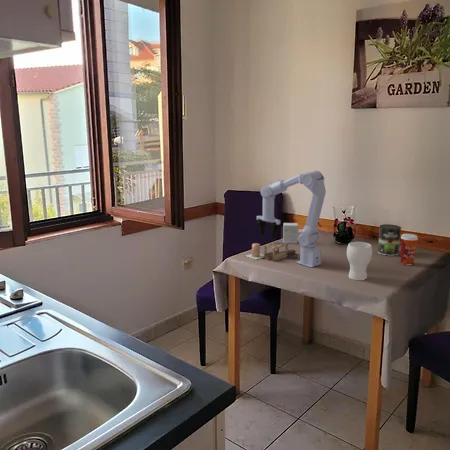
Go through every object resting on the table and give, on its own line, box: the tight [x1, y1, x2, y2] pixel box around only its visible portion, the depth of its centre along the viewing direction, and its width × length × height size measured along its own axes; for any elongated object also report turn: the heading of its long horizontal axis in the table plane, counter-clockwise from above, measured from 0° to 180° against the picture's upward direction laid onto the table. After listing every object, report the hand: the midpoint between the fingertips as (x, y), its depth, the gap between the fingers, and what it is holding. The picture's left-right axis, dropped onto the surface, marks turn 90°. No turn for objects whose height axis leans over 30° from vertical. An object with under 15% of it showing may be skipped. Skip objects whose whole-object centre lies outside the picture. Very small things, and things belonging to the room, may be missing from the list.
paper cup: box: [400, 233, 419, 265], centre depth 216 cm, size 8×8×14 cm
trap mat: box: [286, 255, 299, 260], centre depth 228 cm, size 4×4×1 cm
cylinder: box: [251, 242, 261, 257], centre depth 229 cm, size 4×4×6 cm
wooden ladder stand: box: [263, 241, 289, 262], centre depth 227 cm, size 6×10×7 cm, turn 131°
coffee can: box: [377, 223, 402, 257], centre depth 233 cm, size 10×10×14 cm
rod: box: [264, 249, 296, 261], centre depth 229 cm, size 2×18×2 cm, turn 123°
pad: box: [244, 253, 265, 261], centre depth 230 cm, size 8×8×1 cm
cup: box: [346, 241, 373, 281], centre depth 198 cm, size 11×11×15 cm
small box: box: [282, 222, 299, 245], centre depth 254 cm, size 8×6×10 cm
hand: (267, 235), depth 231 cm, fingers open, 7 cm apart
